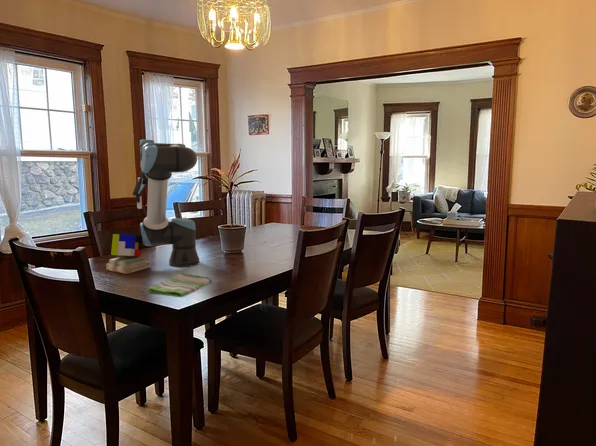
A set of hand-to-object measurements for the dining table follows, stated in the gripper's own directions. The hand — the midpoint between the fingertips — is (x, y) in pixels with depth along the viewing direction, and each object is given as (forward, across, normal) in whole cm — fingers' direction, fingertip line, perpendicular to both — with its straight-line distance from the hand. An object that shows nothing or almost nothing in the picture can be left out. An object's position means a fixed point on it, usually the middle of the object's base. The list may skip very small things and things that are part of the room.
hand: (149, 207), depth 242 cm
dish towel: (+27, +38, +58) cm, 75 cm away
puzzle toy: (+21, +28, +13) cm, 37 cm away
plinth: (+27, +28, +14) cm, 41 cm away
